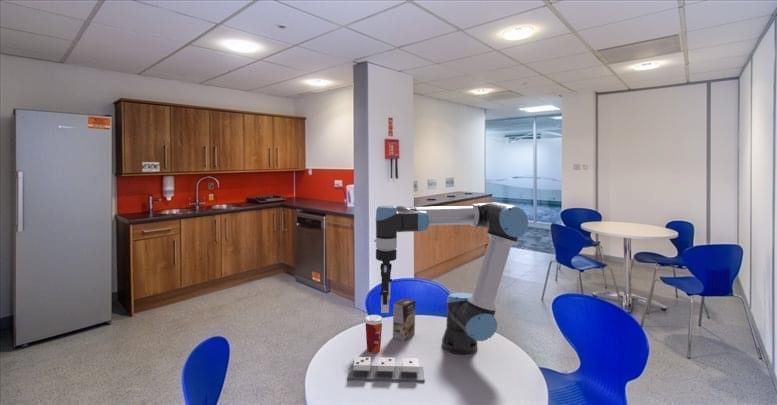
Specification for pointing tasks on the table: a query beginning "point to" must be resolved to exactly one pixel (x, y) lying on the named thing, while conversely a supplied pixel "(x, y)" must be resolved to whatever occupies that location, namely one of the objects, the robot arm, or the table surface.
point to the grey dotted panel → (386, 375)
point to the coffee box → (404, 319)
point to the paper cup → (373, 332)
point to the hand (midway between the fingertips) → (385, 305)
